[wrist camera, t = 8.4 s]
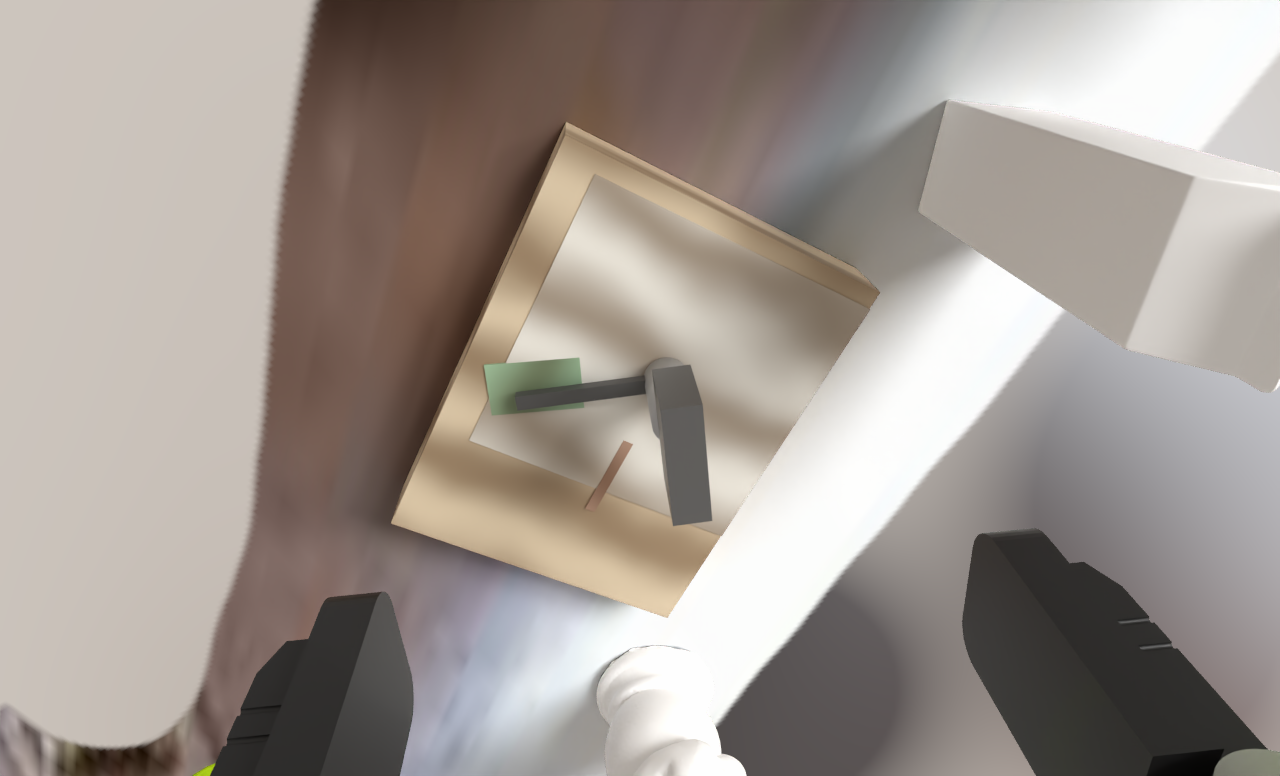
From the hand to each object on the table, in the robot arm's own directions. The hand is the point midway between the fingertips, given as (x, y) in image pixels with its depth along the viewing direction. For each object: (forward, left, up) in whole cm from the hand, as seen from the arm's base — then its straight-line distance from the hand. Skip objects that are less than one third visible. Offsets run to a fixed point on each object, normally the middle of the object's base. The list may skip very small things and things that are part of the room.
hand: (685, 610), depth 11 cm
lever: (+10, +5, -30) cm, 32 cm away
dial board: (+12, +7, -35) cm, 37 cm away
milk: (-8, +19, -35) cm, 40 cm away
